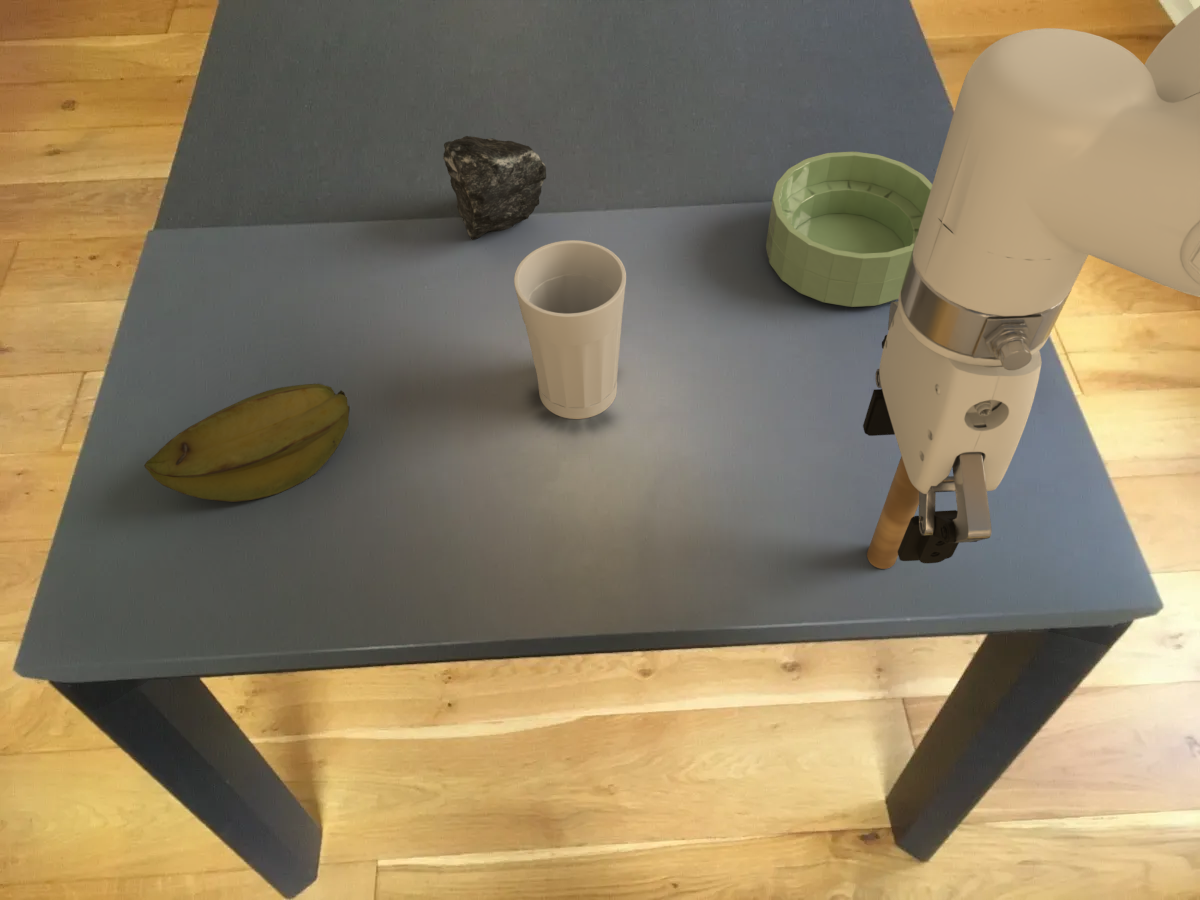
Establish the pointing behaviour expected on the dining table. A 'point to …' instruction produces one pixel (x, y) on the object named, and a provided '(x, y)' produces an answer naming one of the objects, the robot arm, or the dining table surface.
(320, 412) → the fruit
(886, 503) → the stick
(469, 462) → the dining table surface
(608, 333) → the cup
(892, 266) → the bowl
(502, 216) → the rock
